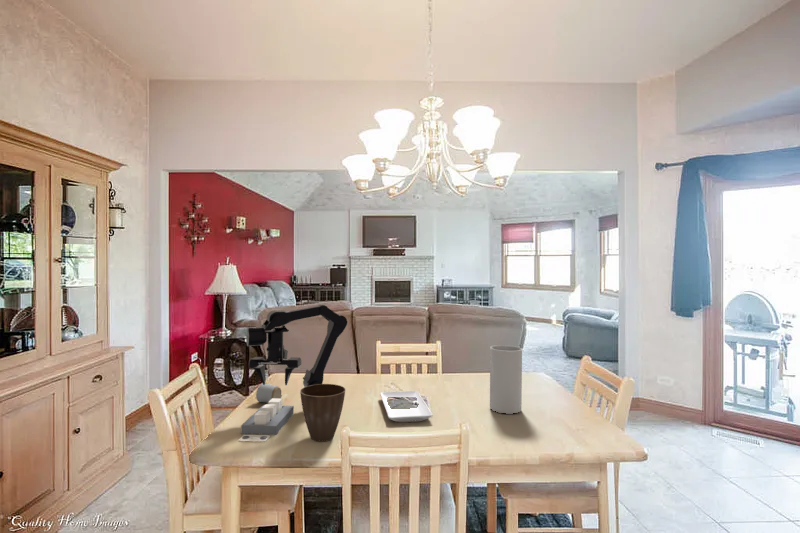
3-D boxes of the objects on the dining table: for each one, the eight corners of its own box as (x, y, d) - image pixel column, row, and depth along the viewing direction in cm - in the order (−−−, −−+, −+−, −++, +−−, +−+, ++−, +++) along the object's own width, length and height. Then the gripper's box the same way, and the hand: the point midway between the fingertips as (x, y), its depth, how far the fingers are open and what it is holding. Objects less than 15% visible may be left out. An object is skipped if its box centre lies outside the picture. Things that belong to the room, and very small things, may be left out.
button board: (293, 413, 163) (293, 405, 163) (276, 435, 142) (276, 426, 142) (262, 412, 163) (263, 405, 163) (241, 434, 142) (241, 425, 142)
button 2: (282, 408, 162) (282, 398, 162) (278, 412, 158) (279, 401, 158) (271, 408, 162) (272, 398, 162) (268, 412, 158) (268, 401, 158)
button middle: (276, 415, 155) (276, 404, 155) (272, 419, 151) (272, 408, 151) (265, 415, 155) (265, 404, 155) (261, 418, 151) (261, 407, 151)
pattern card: (270, 436, 141) (270, 434, 141) (265, 441, 136) (265, 440, 136) (244, 435, 141) (244, 434, 141) (238, 441, 137) (238, 439, 137)
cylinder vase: (526, 409, 171) (527, 348, 171) (511, 417, 162) (512, 352, 162) (499, 402, 180) (500, 344, 180) (483, 409, 170) (484, 348, 171)
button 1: (269, 422, 148) (270, 410, 148) (266, 426, 144) (266, 414, 144) (258, 422, 148) (258, 410, 148) (254, 426, 144) (254, 414, 144)
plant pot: (307, 427, 149) (308, 382, 149) (349, 430, 147) (349, 384, 147) (292, 445, 134) (293, 395, 134) (338, 448, 132) (339, 397, 133)
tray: (388, 426, 152) (388, 416, 152) (379, 399, 183) (379, 391, 183) (433, 424, 155) (433, 415, 155) (417, 398, 186) (417, 390, 186)
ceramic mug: (272, 406, 172) (273, 387, 172) (255, 404, 174) (255, 385, 174) (286, 399, 182) (287, 381, 182) (270, 397, 184) (270, 379, 184)
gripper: (305, 340, 168) (305, 379, 168) (259, 339, 169) (259, 378, 169) (297, 345, 157) (297, 387, 157) (248, 345, 157) (247, 386, 157)
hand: (275, 384), depth 160 cm, fingers open, 8 cm apart
